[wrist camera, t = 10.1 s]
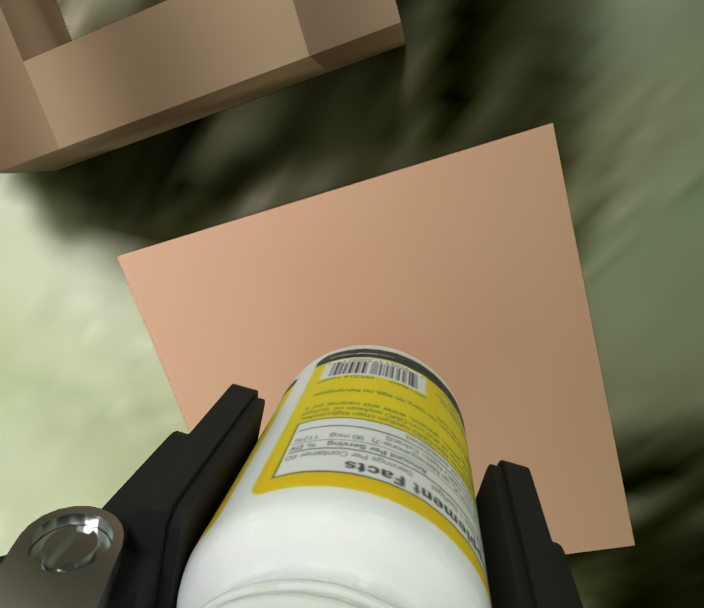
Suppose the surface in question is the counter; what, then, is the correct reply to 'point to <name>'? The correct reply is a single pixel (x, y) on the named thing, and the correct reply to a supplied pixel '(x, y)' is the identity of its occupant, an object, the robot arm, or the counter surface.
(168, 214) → the counter surface
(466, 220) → the terracotta coaster
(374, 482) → the supplement bottle
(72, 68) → the walnut cup holder
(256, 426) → the robot arm
